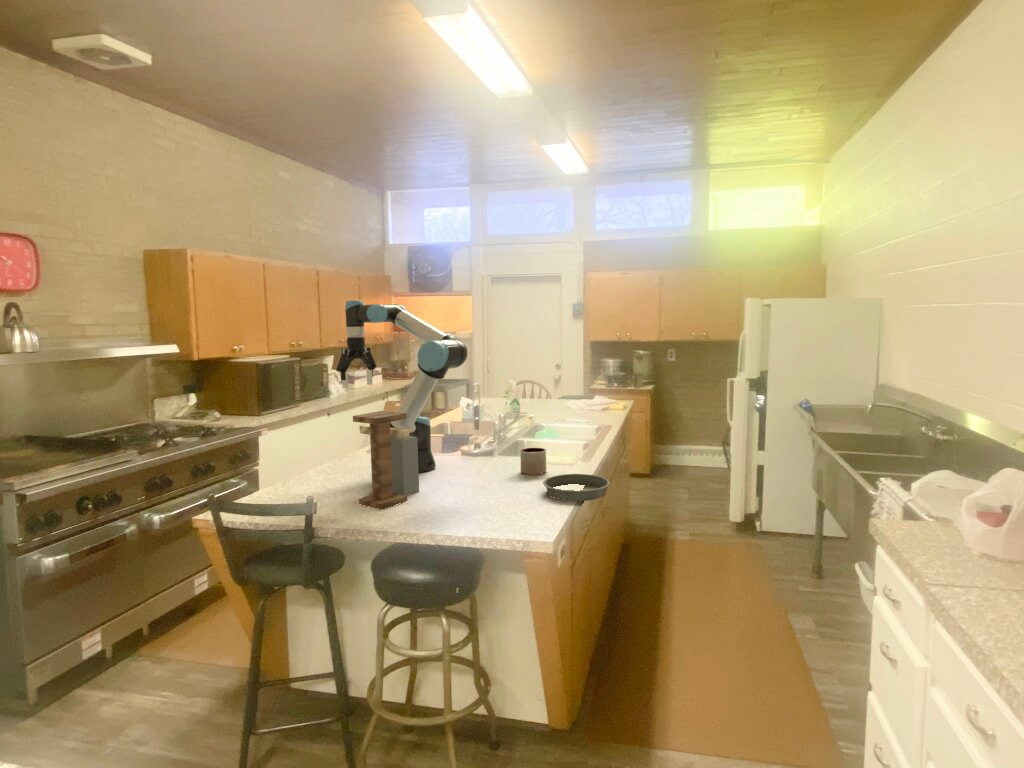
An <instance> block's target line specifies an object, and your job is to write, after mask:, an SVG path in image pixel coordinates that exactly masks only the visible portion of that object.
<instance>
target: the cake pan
mask: <svg viewBox="0 0 1024 768" xmlns="http://www.w3.org/2000/svg"><path fill="white" fill-rule="evenodd" d="M568 484H579V485H585V486H584V488H583V490H580V491H574V490H561V489H555V488H553V487H556V486H561V485H568ZM610 484H611V483H610V481H609V480H608V479H607V478H605V477H602V476H600V475H594V474H587V473H586V474H585V473H567V474H566V473H565V474H558V475H552V476H549V477H547V478H546V479H544V480H543V482H542V485H543V486H544V487H545V488H546V490H547V494H548V496H549V497H551V496H552V497H551V498H553V497H555V498H554V499H556V498H559V499H558V500H561V499H565V500H564V501H568V500H572V501H571V502H584V501H585V502H586V501H592V500H593V501H594V500H598V499H600V498H602V497H604V496H605V495H606V492H607V488H608V487H609V486H610Z"/></svg>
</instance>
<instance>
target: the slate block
mask: <svg viewBox="0 0 1024 768" xmlns="http://www.w3.org/2000/svg"><path fill="white" fill-rule="evenodd" d="M409 437H410V438H407V439H399V438H391V458H392V483H393V493H395V494H400V495H404V496H406V495H407V496H410V495H413V494H412V493H414V494H416V492H417V493H419V492H420V481H419V480H420V479H419V478H420V476H419V473H420V472H418V444H417V437H412V436H409ZM369 443H370V446H371V441H370V442H369ZM371 470H372V465H371ZM371 488H372V487H371ZM371 491H373V488H372V489H371ZM409 494H410V495H409Z"/></svg>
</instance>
